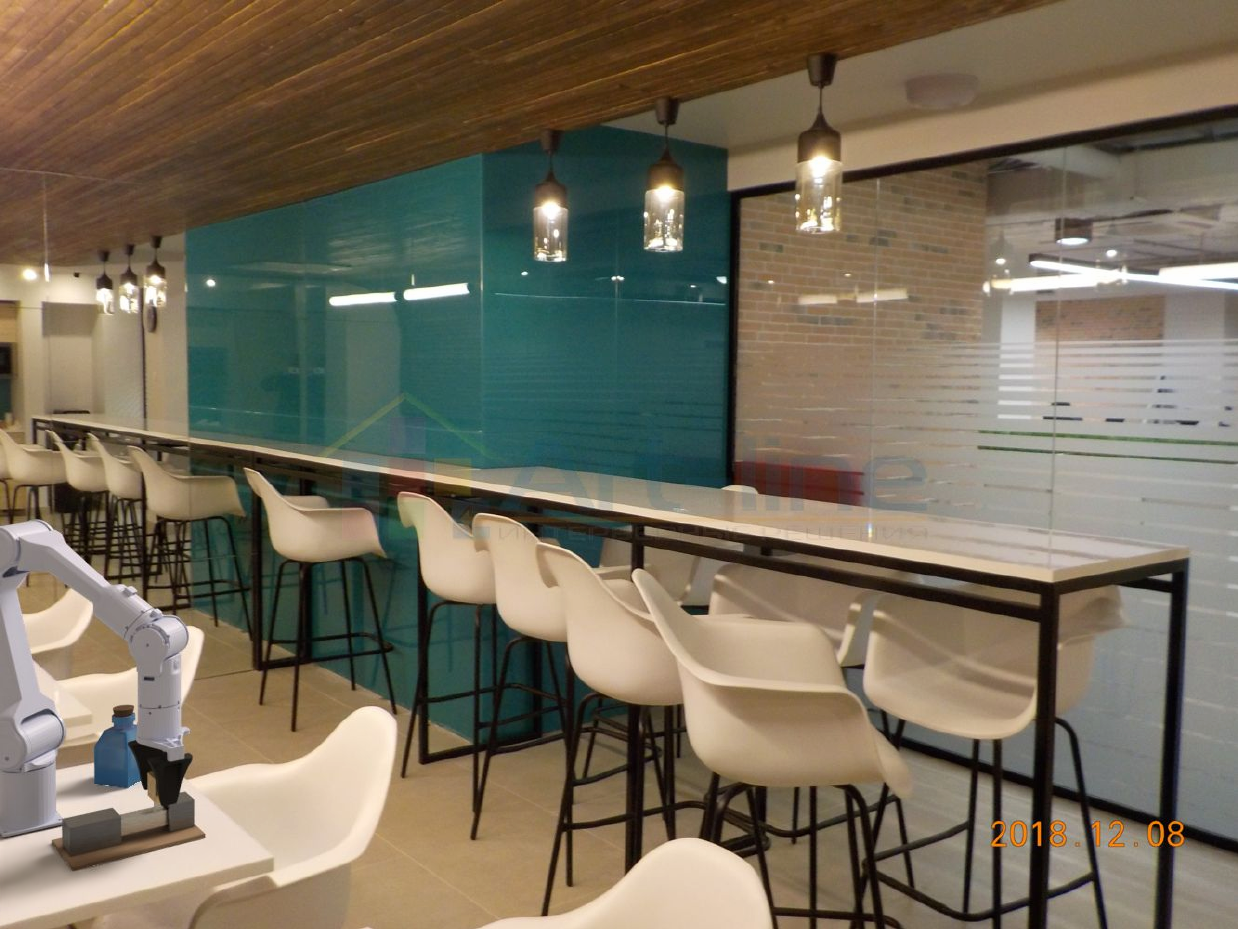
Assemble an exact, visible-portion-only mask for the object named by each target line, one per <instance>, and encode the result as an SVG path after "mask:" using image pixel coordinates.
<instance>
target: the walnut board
mask: <svg viewBox="0 0 1238 929" xmlns="http://www.w3.org/2000/svg"><path fill="white" fill-rule="evenodd" d="M205 838H206V833H205V832H204V831H203V830H202V829H201V828H200V827H198V826H197V825H196V824H195V827H191V828H187V829H183V830H179V831H175V832H171V833H170V832H169V831H167V830H166V829H165V828H164V827H163V826H160V827H155V828H151V829H147V830H143V831H139V832H135V833H130V834H126V835H122V836H121V845H118V846H114V847H109V848H105V849H101V850H97V851H93V852H89V853H85V854H81V855H77V856H73V857H69V855H68V854H67V853H66V851H65V850H64V849H63V847H62V836H61V837H58V838H53V839H51V844H52V845H53V846H54V848H55V849H56V850H57V852H58V854H59V855H60V856H61V857H62V859H63V860H64V861H65V863H66V862H67V863H66V864H67V865H68V866H69V868H70V869H71V871H73V872H74V871H78V870H82V869H86V868H89V867H94V866H93V865H95V866H98V865H97V864H99V865H102V864H106V863H110V862H113V861H117V860H121V859H126V858H130V857H134V856H137V855H141V854H145V853H149V852H153V851H156V850H157V849H158V850H160V849H161V850H162V849H165V848H169V847H173V846H178V845H181V844H185V843H189V842H193V841H196V840H197V841H198V840H200V839H205ZM101 863H102V864H101Z"/></svg>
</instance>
